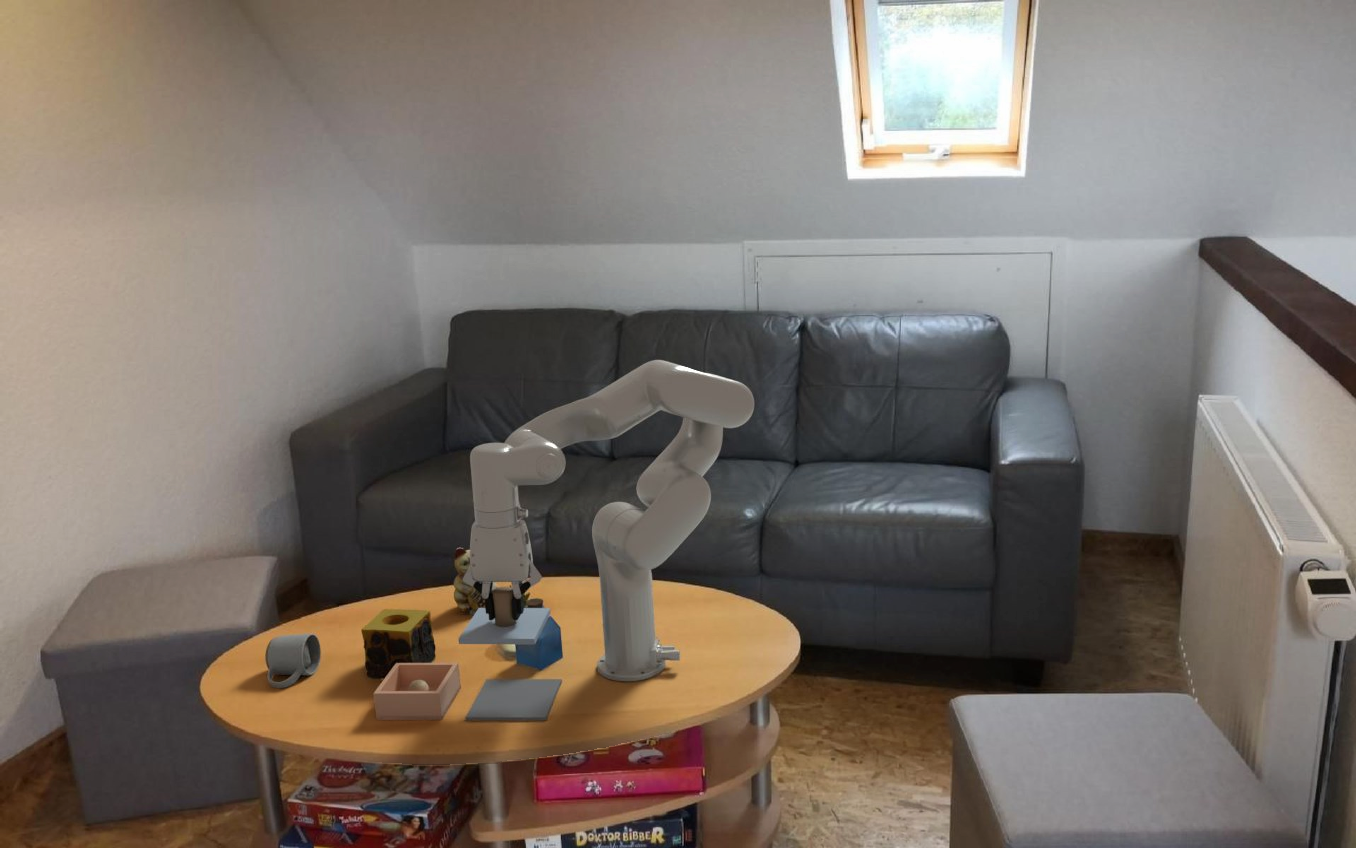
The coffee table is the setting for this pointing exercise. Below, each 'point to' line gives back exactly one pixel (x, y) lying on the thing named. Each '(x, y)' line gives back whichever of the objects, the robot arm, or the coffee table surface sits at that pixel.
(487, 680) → the mat
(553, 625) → the perfume bottle
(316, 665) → the ceramic mug
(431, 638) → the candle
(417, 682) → the ball
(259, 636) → the coffee table surface
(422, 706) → the dish
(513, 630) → the lid
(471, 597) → the decorative figurine
